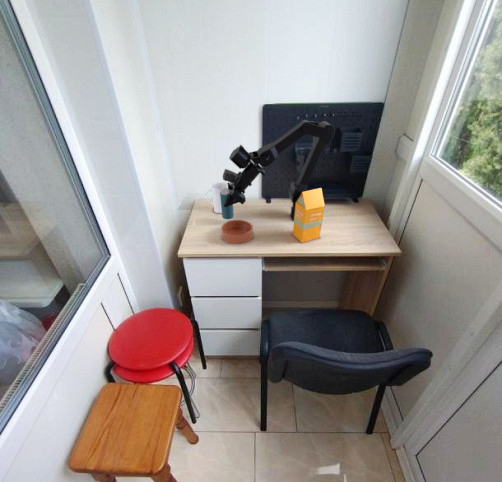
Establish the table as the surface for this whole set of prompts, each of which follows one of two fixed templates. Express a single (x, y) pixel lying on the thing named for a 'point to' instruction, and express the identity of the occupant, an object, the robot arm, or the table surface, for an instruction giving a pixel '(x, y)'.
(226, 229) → the pot
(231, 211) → the can
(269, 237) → the table surface
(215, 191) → the mug
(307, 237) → the orange juice
